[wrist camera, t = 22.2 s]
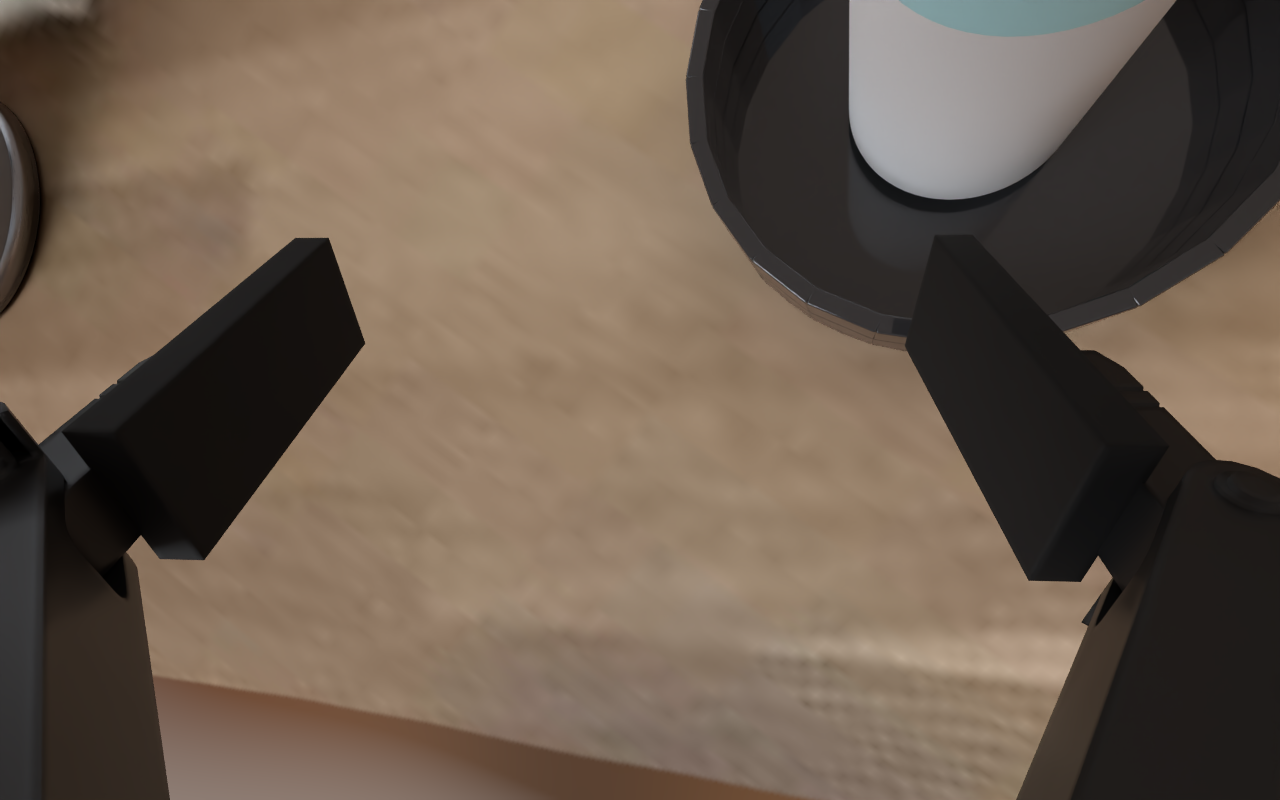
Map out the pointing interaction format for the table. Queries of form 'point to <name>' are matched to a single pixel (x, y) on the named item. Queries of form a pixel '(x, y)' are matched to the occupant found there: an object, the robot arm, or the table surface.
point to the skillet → (1003, 220)
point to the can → (980, 84)
